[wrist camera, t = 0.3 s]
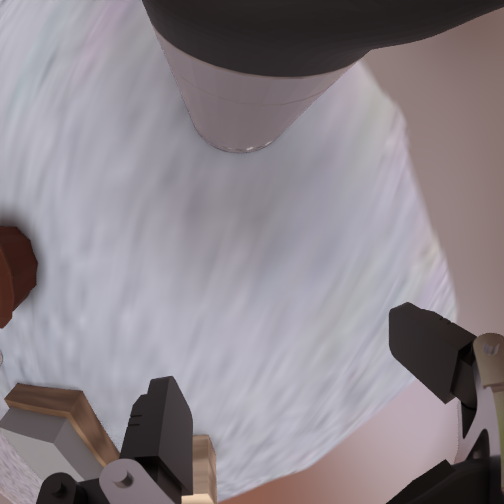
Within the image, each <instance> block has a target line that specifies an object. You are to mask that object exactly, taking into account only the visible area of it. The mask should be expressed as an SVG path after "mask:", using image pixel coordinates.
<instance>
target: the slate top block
mask: <svg viewBox="0 0 504 504" xmlns="http://www.w3.org/2000/svg"><path fill="white" fill-rule="evenodd" d="M0 432H1V433H2V434H3V436H4V437H5V438H6V440H7V441H8V442H9V444H10V445H11V446H12V447H13V449H14V450H15V451H16V452H17V454H18V455H19V456H20V457H21V458H22V459H23V461H24V462H25V463H26V464H27V465H28V466H29V467H30V468H31V470H32V471H33V472H34V473H35V474H36V475H37V476H38V477H39V478H40V479H42V480H45V479H46V478H47V477H48V476H50V475H51V474H54V473H57V472H64V473H67V474H69V475H71V476H72V477H73V478H74V479H75V480H76V481H77V482H81V481H86V480H91V479H96V478H100V474H101V472H102V470H103V469H104V467H103V466H102V465H101V464H100V463H99V461H98V460H97V459H96V458H95V456H94V455H93V454H92V452H91V451H90V450H89V448H88V447H87V446H86V444H85V443H84V442H83V440H82V439H81V437H80V436H79V434H78V433H77V432H76V430H75V429H74V427H73V426H72V424H71V423H70V421H69V419H68V418H66V417H59V416H53V415H48V414H42V413H37V412H32V411H27V410H23V409H19V408H15V407H11V408H10V409H9V410H8V412H7V413H6V414H5V415H4V417H3V418H2V419H1V421H0Z"/></svg>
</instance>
